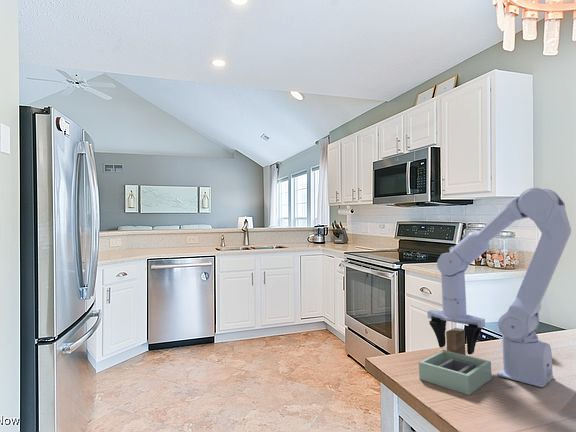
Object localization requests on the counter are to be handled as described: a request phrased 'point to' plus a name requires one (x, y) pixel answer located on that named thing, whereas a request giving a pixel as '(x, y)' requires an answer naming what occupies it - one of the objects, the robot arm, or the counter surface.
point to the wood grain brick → (456, 341)
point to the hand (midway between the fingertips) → (456, 349)
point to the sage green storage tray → (455, 371)
